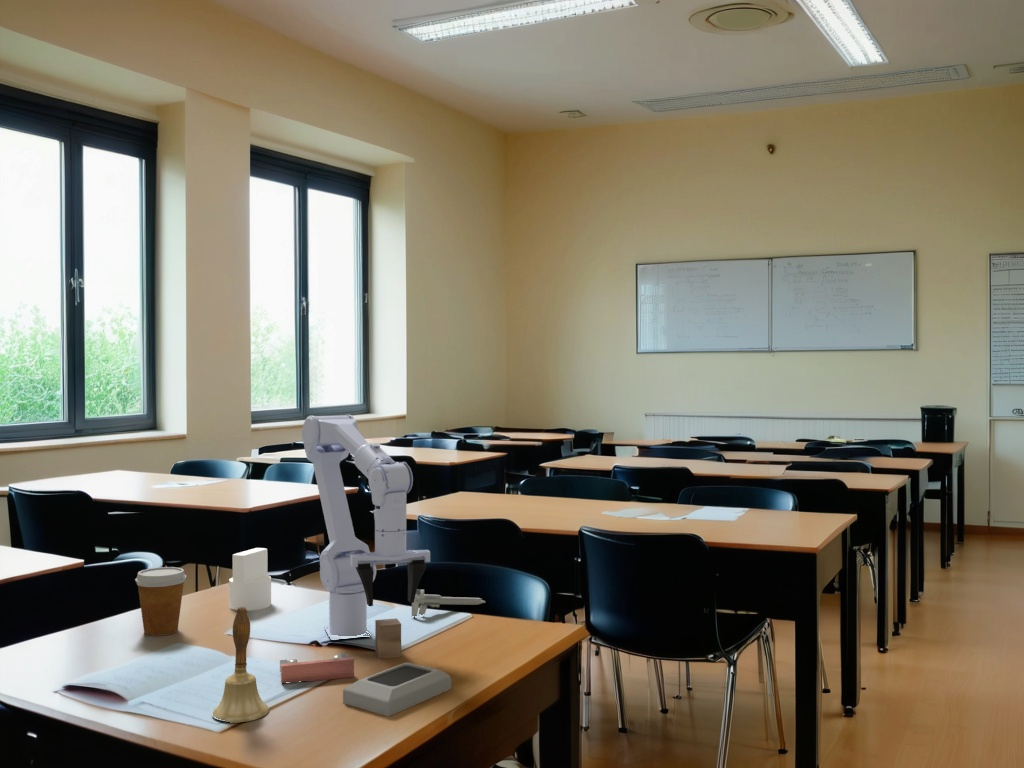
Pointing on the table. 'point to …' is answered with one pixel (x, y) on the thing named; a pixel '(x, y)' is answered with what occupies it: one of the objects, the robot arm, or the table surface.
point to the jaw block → (388, 638)
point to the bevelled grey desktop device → (396, 688)
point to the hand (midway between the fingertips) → (390, 603)
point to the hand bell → (241, 681)
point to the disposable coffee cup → (160, 599)
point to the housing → (317, 669)
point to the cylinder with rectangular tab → (250, 580)
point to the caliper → (439, 601)
